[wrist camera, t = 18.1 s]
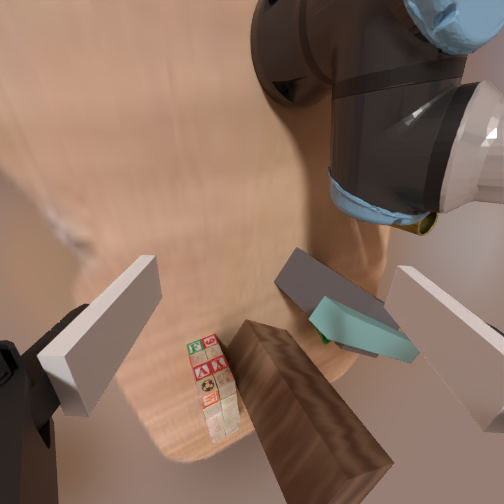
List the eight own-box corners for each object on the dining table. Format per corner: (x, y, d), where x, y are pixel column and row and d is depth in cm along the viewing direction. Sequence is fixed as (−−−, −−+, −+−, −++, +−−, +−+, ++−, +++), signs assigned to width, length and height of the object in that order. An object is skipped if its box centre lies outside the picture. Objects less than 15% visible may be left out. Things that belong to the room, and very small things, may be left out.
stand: (223, 354, 53) (301, 536, 29) (245, 319, 52) (347, 479, 28) (266, 360, 61) (356, 508, 37) (286, 330, 60) (394, 462, 35)
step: (274, 281, 51) (341, 348, 35) (296, 247, 50) (377, 299, 34) (307, 296, 58) (376, 357, 42) (327, 266, 57) (407, 317, 40)
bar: (308, 319, 28) (328, 339, 26) (324, 295, 28) (346, 313, 25) (392, 348, 43) (411, 363, 40) (404, 333, 43) (423, 347, 40)
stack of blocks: (225, 393, 60) (244, 445, 50) (201, 405, 57) (216, 461, 47) (214, 332, 50) (235, 381, 40) (185, 344, 48) (199, 398, 38)
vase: (377, 195, 54) (445, 210, 43) (365, 220, 56) (426, 241, 44) (362, 187, 51) (430, 201, 39) (349, 213, 53) (411, 234, 41)
